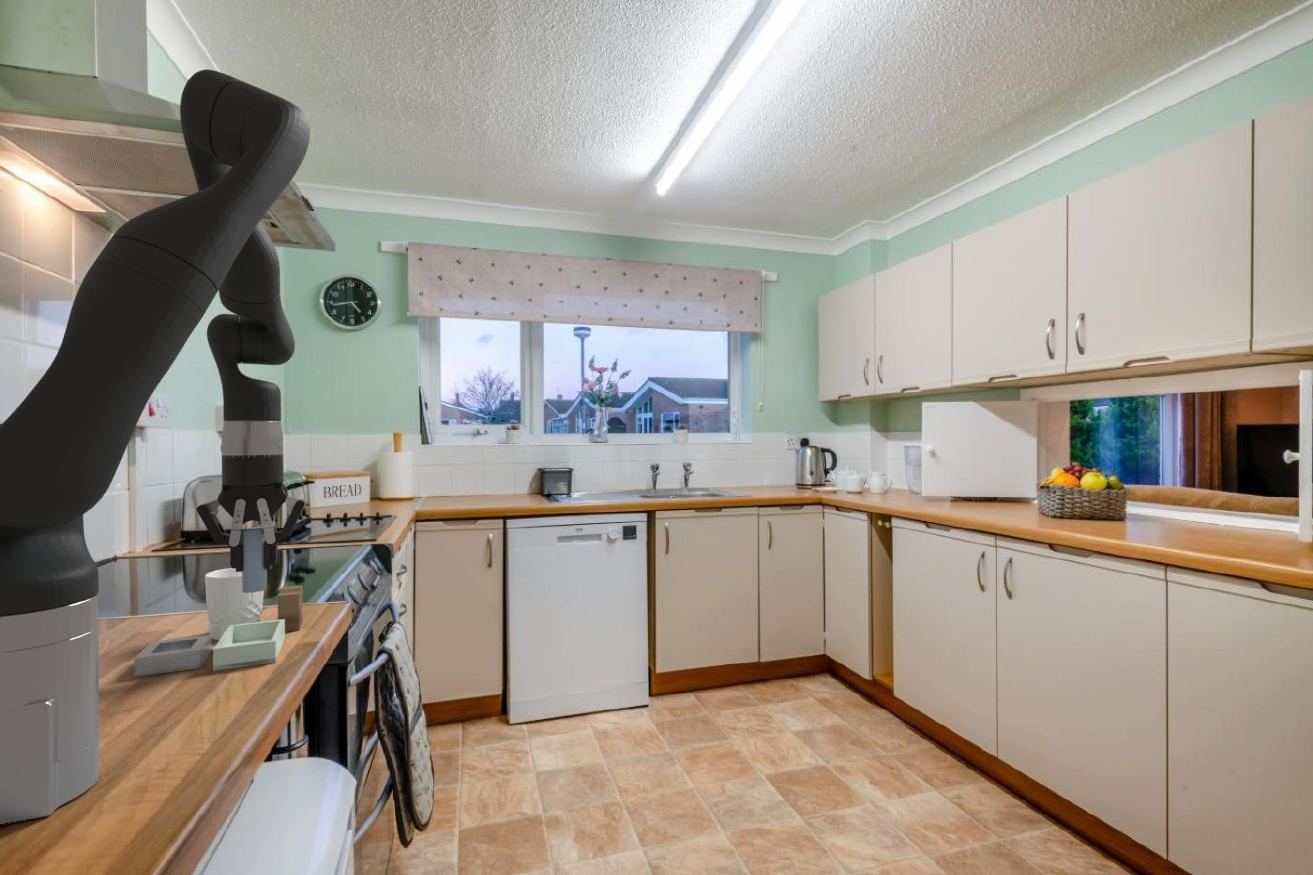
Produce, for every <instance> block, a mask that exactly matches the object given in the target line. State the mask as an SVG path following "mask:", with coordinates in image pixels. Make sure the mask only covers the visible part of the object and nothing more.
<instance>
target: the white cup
mask: <svg viewBox="0 0 1313 875" xmlns="http://www.w3.org/2000/svg"><path fill="white" fill-rule="evenodd" d="M204 575H205V576H204V582H205V584H204V585H205V601H206V610H207V611H206V613H207V620H208V622H209V623H208V630H209V634H208V635H211V640H215V641H219V640H220V639H221V637H222V636H223V634H224V633H225V631H226V630H227V629H228V627H229V626H230V625H238V624H247V623H255V622H262V614H263V605H264V593H265V592H264V591H265V590H263V591H259V592H252V593H244V592H242V572H236V568H232V567H228V568H222V569H217V570H214V571H210V572H207V573H206V574H204Z"/></svg>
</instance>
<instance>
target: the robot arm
mask: <svg viewBox="0 0 1313 875" xmlns="http://www.w3.org/2000/svg"><path fill="white" fill-rule="evenodd" d="M179 105H180V106H179V116H180V123H181V131H182V135H183V141H184V145H185V147H186V151H187V155H188V158H189V162H190V166H191V169H192V172H193V176H194V178H195V182H196V183H195V184H196V187H197V190H198V191H196V192H193V193H192V194H189V195H186V196H184V197H181V198H178V199H176V200H172V201H171V202H168V203H165V204H162V205H159V206H157V207H155V208H151V209H149V210H147V211H144V212H143V213H141V214H139V215H137V216H135V217H133V218H131V219H129V220H128V221H126V222H125V223H123V224H122V225H121V226H120V227H119V228H118V229H117V230H116V231H115V232H114V234H112V236H111V238H110V239H109V240H108V242H107V243H106V245H105V246H104V247H103V249H102V250H101V252H100V253H99V255H98V256H97V257H96V258H95V259H94V262H93V263H92V265H91V266H90V267H89V269H88V270H87V272H86V274H85V275H84V277H83V279H82V281H81V283H80V285H79V287H78V290H77V292H76V295H75V297H74V301H73V303H72V306H71V308H70V311H69V312H70V313H69V315H68V318H67V322H66V327H65V330H64V335H63V338H62V340H61V344H60V346H59V348H58V351H57V353H56V355H55V357H54V359H53V361H52V362H51V364H50V365H49V367H48V368H47V369H46V371H45V372H44V374H43V376H41V378H40V379H39V380H38V382H37V383H36V384H35V385H34V386H33V388H32V389H31V390H30V392H29V393H28V394H27V395H26V396H25V398H24V399H23V400H22V401H21V403H20V404H19V405H18V406H17V407H16V408H15V410H13V412H11V414H10V415H9V416H7V418H6V419H5V421H3V422H2V423H0V822H2V823H5V822H6V823H7V822H9V824H11V823H10V822H14V821H15V822H14V823H17V822H16V821H18V820H20V821H19V822H22V821H21V820H23V821H28V820H32V819H38V818H42V817H47V816H50V815H51V814H52V815H53V813H54V812H55V811H56V810H57V809H58V808H59V807H61V806H62V805H64V804H66V803H68V802H70V801H72V800H74V799H76V798H77V797H79V796H80V795H82V794H84V793H85V792H87V791H88V790H89V789H90V788H92V787H93V786H94V785H95V783H96V782H97V781H98V780H99V776H100V725H99V724H100V722H99V721H100V717H99V716H100V714H99V711H100V709H99V708H100V707H99V706H100V705H99V704H100V703H99V700H100V698H99V696H100V694H99V693H100V692H99V689H100V688H99V685H100V684H99V675H100V674H99V584H100V583H99V580H100V579H99V577H100V576H99V568H98V566H97V564H96V562H95V560H94V559H93V557H92V555H91V554H90V551H89V548H88V546H87V542H86V538H85V529H84V528H85V526H84V514H86V513H87V512H89V511H90V510H92V509H93V508H94V507H95V506H97V504H98V503H99V502H100V501H101V500H102V499H103V497H104V496H105V495H106V493H107V491H108V489H109V487H110V486H111V484H112V482H113V479H114V477H115V476H116V473H117V471H118V468H119V466H120V465H121V462H122V459H123V457H124V454H125V453H126V450H127V448H128V445H129V443H130V440H131V438H132V435H133V434H134V431H135V429H136V426H137V425H138V422H139V420H140V418H141V416H142V414H143V412H144V410H145V408H146V406H147V404H148V402H149V400H150V399H151V396H152V395H153V393H154V391H155V390H156V389H157V387H158V385H159V384H160V383H161V382H162V379H164V377H165V375H166V374H167V372H168V371H169V370H170V368H171V367H172V366H173V364H174V362H175V361H176V359H177V357H178V356H179V354H180V353H181V351H182V349H183V348H184V346H185V344H186V342H188V340H189V338H190V337H191V335H192V334H193V332H194V330H195V329H196V327H197V326H198V325H199V323H200V321H201V320H202V318H203V317H204V316H205V313H206V312H207V311H208V308H209V307H210V306H211V303H212V302H213V300H214V298H215V297H216V295H217V294H219V300H220V303H221V304H222V306H223V307H224V308H225V309H226V310H227V311H229V312H231V313H220V314H217V315H216V316H214V317H213V318H212V319H211V320H210V322H209V323H208V326H207V330H206V339H207V342H208V346H209V349H210V352H211V354H212V356H213V360H214V362H215V365H216V367H217V370H218V375H219V378H220V383H221V387H222V400H223V407H222V408H223V416H222V417H223V424H222V425H223V426H222V431H221V445H220V452H221V490H220V492H219V494H218V496H217V499H215V500H212V501H209V502H208V503H207V502H206V503H202V504H200V505H198V506H197V507H196V513H197V514H198V515H199V518H200V519H201V521H202V523H203V524H204V526H205V528H206V530H207V531H208V533H209V535H210V536H211V538H212V540H213V542H214V543H216V544H224V545H227V546H228V547H229V550H230V551H229V552H230V553H229V556H230V557H229V558H230V559H229V560H230V563H229V564H230V568H236V572H242V529H246V524H247V523H249V522H251V521H253V522H260V523H261V527H262V528H263V530H264V534H265V539H266V544H265V570H266V569H267V570H271V569H273V566H274V565H276V563H277V561H278V542H279V541H282V540H284V539H288V538H289V537H290V536H291V535H292V532H293V531H294V528H295V527H296V524H297V522H299V521H298V520H299V518H300V516H301V515H302V512H303V511H304V508H305V506H306V504H307V501H306V500H305V499H304V498H295V497H292V496H290V495H288V491H287V490H286V489H285V486H284V434H283V428H282V427H283V426H282V408H281V407H282V394H281V388H280V386H279V385H278V384H276V383H275V382H271V381H267V380H263V379H256V378H253V377H250V376H247V375H245V374H244V373H243V372H242V371H241V370H240V368H239V364H240V365H241V364H242V365H243V364H244V365H265V366H280V365H281V366H282V365H284V364H285V363H288V361H290V360H291V358H292V357H293V355H294V354H295V348H296V347H295V345H296V344H295V343H296V342H295V337H294V334H293V330H292V328H291V326H290V324H289V322H288V319H287V317H286V314H285V312H284V308H283V305H282V301H281V266H280V260H279V256H278V252H277V249H276V247H275V244H274V243H273V241H272V239H271V237H270V235H269V233H268V232H267V230H266V228H265V227H264V225H263V224H262V222H261V220H262V219H263V218H264V216H266V214H267V212H268V211H269V210H270V209H271V207H272V206H273V205H274V203H275V202H276V201H277V199H278V198H279V197H280V196H281V194H282V193H283V192H284V190H286V188H287V186H288V185H289V184H290V183H291V182H292V179H293V178H294V176H296V174H297V173H298V171H299V169H300V167H301V165H302V163H303V161H304V159H305V157H306V154H307V151H308V148H309V144H310V138H311V130H310V129H311V127H310V122H309V119H308V118H307V115H306V114H305V112H303V110H302V109H301V108H300V107H299V106H297V105H295V104H294V103H292V102H291V101H288V100H287V99H285V98H283V97H282V96H279V95H277V94H274V93H272V92H269V91H267V90H265V89H263V88H259V87H258V86H255V85H253V84H251V83H248V82H246V81H244V80H241V79H238V78H236V77H234V76H231V75H229V74H227V73H223V72H220V71H218V70H213V69H203V70H202V69H200V70H198V71H197V72H195V73H193V74H192V75H191V76H190V78H188V80H187V81H186V82H185V85H184V87H183V88H182V92H181V98H180V104H179ZM232 313H233V314H232ZM285 503H286V505H287V506H286V510H287V512H289V516H288V517H287V520H286V522H285V523H284V525H283V528H282V529H281V530H278V531H277V526H276V519H275V515H276V514H277V512H278V511H279V510H280V508H281V507H282V506H283V504H285ZM220 506H221V507H222V508H223V509H224V510H225V512H227V513H228V515H229V516H230V517H231V518H232V520H231V521H232V522H231V526H230V533H227V531H226V530H225V528H224V527H223V525H222V523H221V521H220V519H219V518H218V515H219V514H220V509H219V508H220ZM27 819H28V820H27Z"/></svg>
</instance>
